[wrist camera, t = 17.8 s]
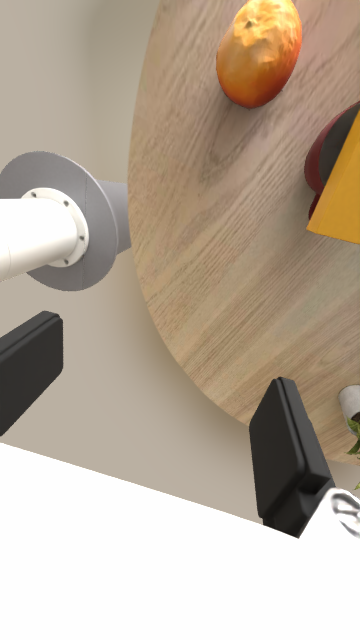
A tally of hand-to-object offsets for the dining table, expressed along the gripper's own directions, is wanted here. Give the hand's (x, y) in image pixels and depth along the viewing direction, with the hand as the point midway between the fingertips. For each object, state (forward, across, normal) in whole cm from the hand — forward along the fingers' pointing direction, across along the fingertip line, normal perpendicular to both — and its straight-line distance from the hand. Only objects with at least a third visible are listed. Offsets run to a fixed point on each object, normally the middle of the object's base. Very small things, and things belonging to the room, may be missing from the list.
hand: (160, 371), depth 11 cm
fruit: (+31, 0, -20) cm, 36 cm away
